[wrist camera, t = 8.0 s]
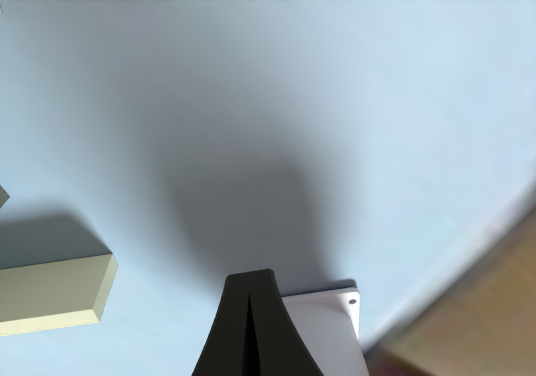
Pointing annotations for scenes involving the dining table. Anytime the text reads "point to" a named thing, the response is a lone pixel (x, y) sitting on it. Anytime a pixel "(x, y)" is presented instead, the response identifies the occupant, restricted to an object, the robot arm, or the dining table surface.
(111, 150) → the dining table surface
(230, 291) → the robot arm
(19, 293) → the bin
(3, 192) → the beige symbol cube
